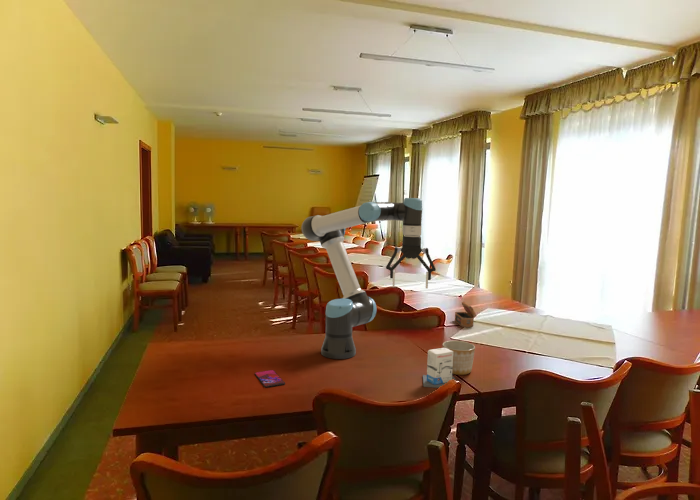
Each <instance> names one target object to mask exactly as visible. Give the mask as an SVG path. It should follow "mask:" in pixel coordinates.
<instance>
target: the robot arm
mask: <svg viewBox="0 0 700 500" xmlns="http://www.w3.org/2000/svg"><path fill="white" fill-rule="evenodd" d="M422 217H423V199H422V198H419V197H418V198H416V197H405V198H404V199H403V202H396V201H395V202H392V201H381V202H380V201H379V202H378V201H377V202H376V201H366V202H363V203H362V204H361V205H358V206H354V207H350V208H346V209H344V210H339V211H336V212H332V213H328V214H326V215H319V214H317V215H313V216H308V217H306V218H305V219H304V221H302V223H301V233H302V235H303V236H304V237H305V239H307V240H309V241H312V242H320V245H321V246H320V247H321V248H323V249H325V250H326V252H327V256H328V258H329V261H330V263H331V266H332V269H333V271H334V274H335V277H336V279H337V281H338V285H339V287H340V289H341V293H342V295H343V297H342V298H335V299H331V300H330V301H328V302H327V304H326V306H325V337H324V340H323V342H322V346H321V349H320V350H321V351H320V353H321V355H322V356H323V357H324V358H328V359H334V360H346V359H350V358H353V357H355V356H356V353H357V349H356V345H355V341H354V338H353V328H354V327H357V326H361V325H366V324H368V323H370V322H372V321H373V320H374V318H375V317H376V315H377V304H376V302H375V300H374V299H373V298H372V297H370V296H368V295H367V292H366V291H365V290H363V289H362V288H361V285H360V284H359V280H358V278H357V275H356V273H355V270H354V267H353V265H352V263H351V259H350V257H349V255H348V253H347V249H346V247H345V244H344V242H345V234H346V229H348V228H352V227H356V226H359V225H365V224H367V223H368V224H369V223H373V222H378V221H381V222H383V221H400V222H401V221H402V224H403V225H402V235H403V236H402V244H401V245H402V246H401V247H397V246H395V247H394V251H393V254H392V255H391V257H390V259H389V261H388V263H387V264H386V267H385V269H386V270H388V271H390V272H389V277H390V279H392V288H395V286H396V285H395V283H396V270H395V269H396V268H397V267H398V265H400V263H402V262H403V260H404V259H405V258H406V259H408V260H409V259H412V260H415V259H418V261H419V263H421V264H422V265H423V267H424V268H425V269H426V270H427V271H426V273H425V289H428V288H429V281H431V279H432V273H433V272H436V271H437V269H436V267H435V264H434V263H433V259H432V258H431V255H430V254H429V248H428V247H425V248H422V247H421V245H422V237H421V236H422V219H423V218H422ZM400 251H401V253H402V255H401V256H400V257H399V258H398V259H397V260H396V262H394V259H396V256H397V255H398V253H400ZM422 252H423V254H425V256H426V258H427V260H428V262H429V264H430V266H428V264H427V263H426V262H425V260H424V259H423V258H422V256H421V255H420V254H421V253H422ZM393 262H394V264H393V265H392V263H393Z"/></svg>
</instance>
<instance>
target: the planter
mask: <svg viewBox="0 0 700 500" xmlns="http://www.w3.org/2000/svg"><path fill="white" fill-rule="evenodd" d="M442 348H447V349H449V350H451V351H453V369H452V375H457V376H464V375H465V376H466V375H468V374H470V373H471V372H472V369H473V363H474V358H475V351H476V346H475V345H474V344H473V343H470V342H468V341H463V340H446V341H444V342H443V343H442Z"/></svg>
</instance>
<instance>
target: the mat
mask: <svg viewBox="0 0 700 500" xmlns="http://www.w3.org/2000/svg"><path fill="white" fill-rule="evenodd" d="M452 379H454V380H455V381H456V377H455V376H452ZM422 382H423V385H422V386H423V387H424V388H437V389H440V388H439V387H440V386H442V385H444V384H445V383H441V384H437V385H434V384H432V383H430V382H428V381H427V374H423V375H422ZM446 383H447V382H446Z"/></svg>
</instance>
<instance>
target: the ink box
mask: <svg viewBox="0 0 700 500" xmlns="http://www.w3.org/2000/svg"><path fill="white" fill-rule="evenodd" d="M426 362H427V364H426V366H427V367H426V375H427V381H428V382H430V383H432V384H434V385H437V384H441V383H446V382H448V381H449V380H452V377H453V374H452V369H453V351H451V350H449V349H447V348H443V347H441V348H433V349H428V350H427V360H426Z"/></svg>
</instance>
